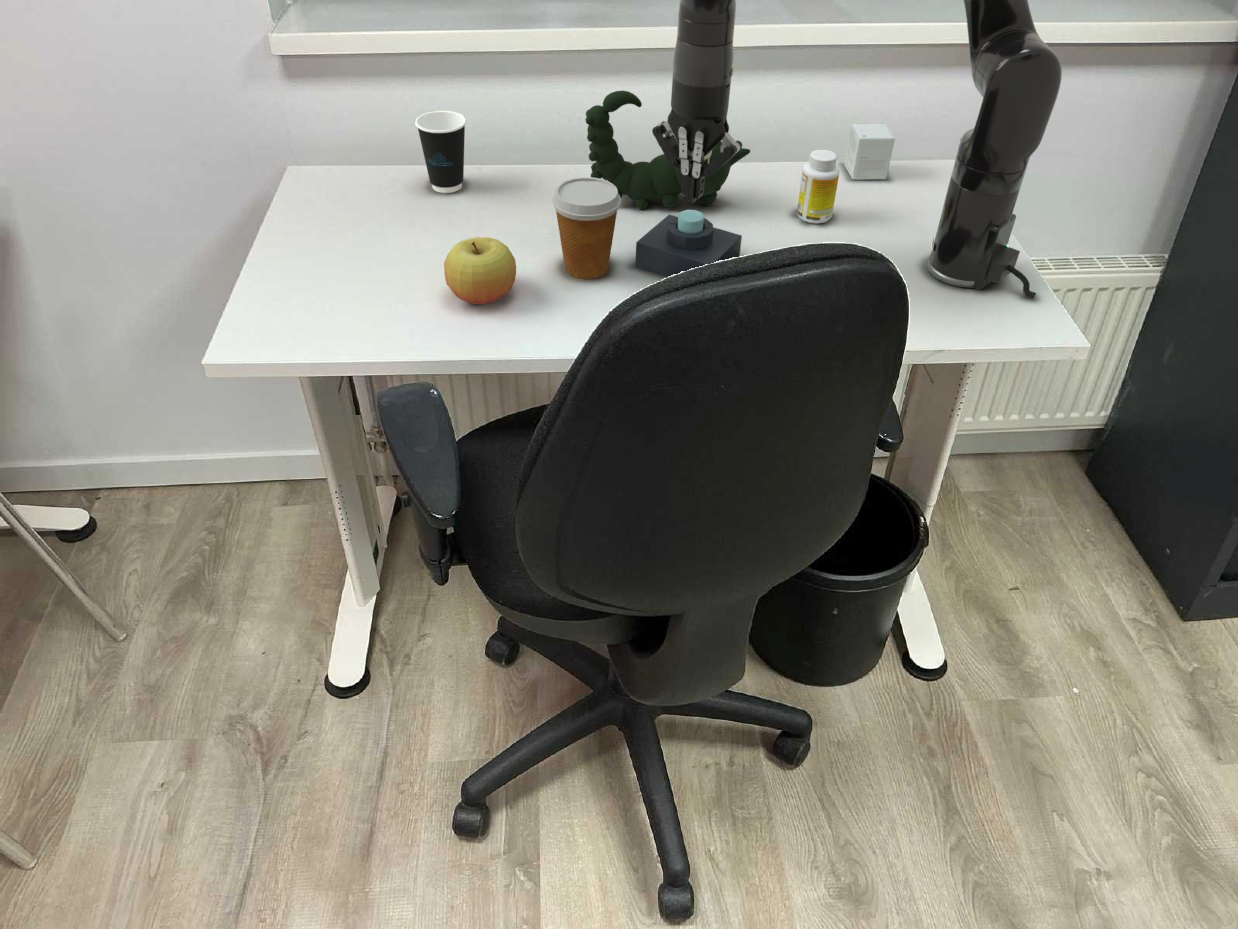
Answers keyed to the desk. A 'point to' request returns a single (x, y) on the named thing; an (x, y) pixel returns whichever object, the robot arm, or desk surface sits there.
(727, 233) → the button housing
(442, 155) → the dixie cup
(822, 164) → the supplement bottle
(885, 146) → the product box
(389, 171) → the desk surface
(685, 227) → the teal button cap
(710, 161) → the toy figurine
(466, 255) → the apple
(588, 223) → the disposable coffee cup
